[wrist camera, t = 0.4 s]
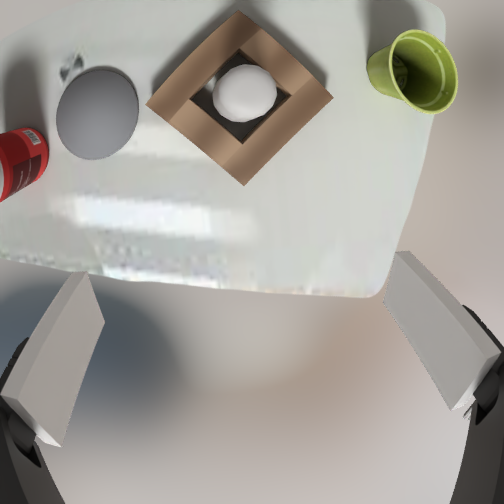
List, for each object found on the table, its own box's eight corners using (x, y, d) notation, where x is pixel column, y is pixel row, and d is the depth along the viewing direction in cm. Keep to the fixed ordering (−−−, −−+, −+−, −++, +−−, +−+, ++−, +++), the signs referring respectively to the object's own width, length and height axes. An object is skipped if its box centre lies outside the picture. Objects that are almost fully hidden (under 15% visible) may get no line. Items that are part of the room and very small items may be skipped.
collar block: (151, 104, 29) (145, 104, 27) (237, 17, 25) (238, 10, 23) (242, 179, 35) (243, 186, 32) (324, 97, 31) (333, 97, 28)
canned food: (8, 129, 27) (-45, 145, 17) (51, 124, 28) (-2, 138, 18) (10, 182, 30) (-38, 210, 21) (51, 181, 32) (4, 212, 22)
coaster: (44, 128, 28) (42, 128, 28) (93, 54, 25) (91, 54, 24) (103, 176, 32) (101, 177, 32) (157, 103, 29) (156, 103, 29)
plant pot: (400, 121, 32) (441, 130, 25) (342, 84, 30) (376, 81, 22) (424, 66, 29) (466, 65, 21) (369, 26, 26) (406, 12, 19)
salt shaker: (274, 89, 30) (305, 81, 18) (248, 129, 32) (263, 144, 20) (230, 63, 28) (235, 39, 17) (203, 105, 30) (192, 105, 19)
